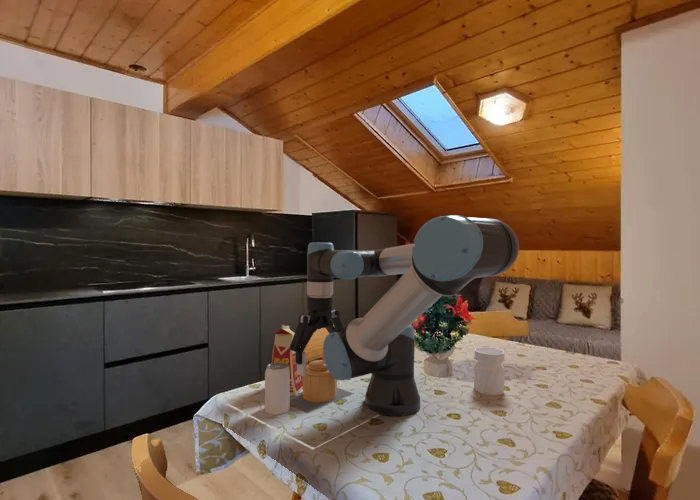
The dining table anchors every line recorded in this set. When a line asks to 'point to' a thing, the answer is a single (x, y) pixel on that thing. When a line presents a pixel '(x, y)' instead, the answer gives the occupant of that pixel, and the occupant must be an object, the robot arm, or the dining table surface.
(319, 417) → the dining table surface
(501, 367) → the pill bottle
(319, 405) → the mat
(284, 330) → the milk carton
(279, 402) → the can
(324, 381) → the wooden octagonal canister
